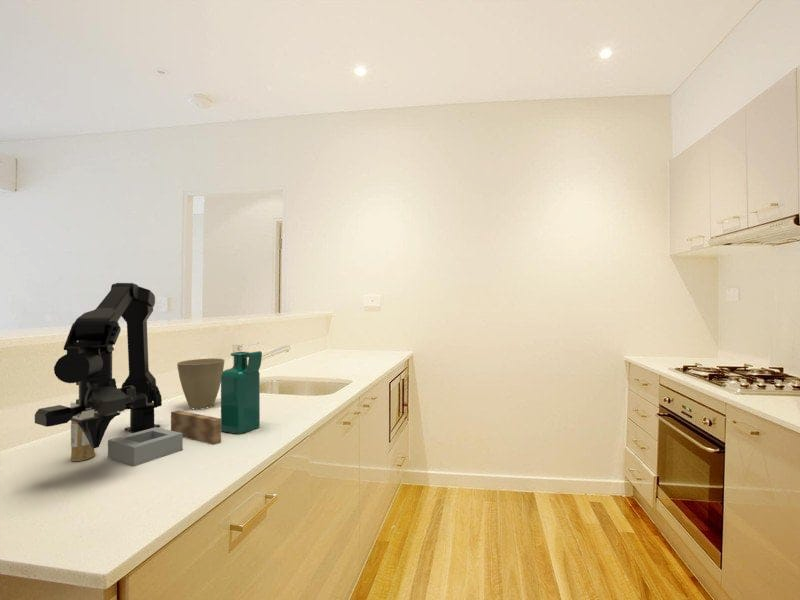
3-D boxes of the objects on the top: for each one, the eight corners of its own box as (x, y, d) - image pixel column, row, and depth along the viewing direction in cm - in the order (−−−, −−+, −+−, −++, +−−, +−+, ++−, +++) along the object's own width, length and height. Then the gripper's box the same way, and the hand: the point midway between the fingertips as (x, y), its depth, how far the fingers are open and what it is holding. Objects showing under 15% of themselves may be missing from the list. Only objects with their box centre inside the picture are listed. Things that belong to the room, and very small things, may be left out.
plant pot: (194, 401, 146) (194, 358, 147) (232, 402, 145) (232, 358, 145) (166, 412, 132) (166, 364, 132) (209, 413, 130) (209, 364, 130)
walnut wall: (170, 434, 108) (170, 412, 109) (178, 432, 110) (178, 410, 110) (213, 444, 100) (213, 420, 100) (220, 442, 102) (220, 418, 102)
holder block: (107, 457, 92) (107, 439, 92) (156, 442, 102) (156, 427, 102) (134, 465, 87) (134, 447, 87) (182, 449, 96) (182, 433, 96)
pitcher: (217, 431, 110) (217, 352, 111) (240, 423, 118) (240, 349, 119) (244, 435, 107) (244, 353, 107) (266, 426, 114) (266, 350, 115)
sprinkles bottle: (94, 459, 91) (94, 400, 91) (68, 463, 88) (69, 403, 88) (96, 453, 95) (96, 396, 95) (71, 457, 92) (71, 399, 92)
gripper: (60, 385, 73) (59, 470, 73) (161, 371, 90) (161, 440, 89) (33, 380, 79) (33, 460, 78) (134, 367, 95) (133, 433, 95)
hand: (95, 447), depth 85 cm, fingers closed
